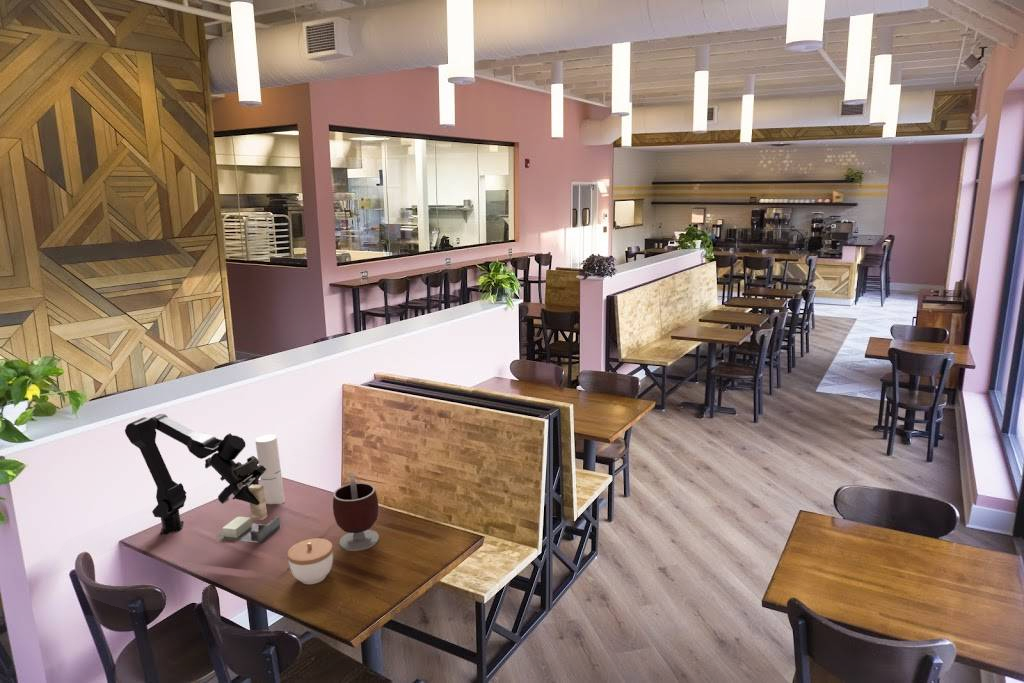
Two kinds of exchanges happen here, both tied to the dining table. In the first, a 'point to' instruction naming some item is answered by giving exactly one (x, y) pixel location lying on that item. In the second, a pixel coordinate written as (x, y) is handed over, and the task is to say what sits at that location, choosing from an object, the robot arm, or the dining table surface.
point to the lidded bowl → (311, 560)
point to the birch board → (259, 510)
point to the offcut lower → (238, 532)
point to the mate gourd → (356, 514)
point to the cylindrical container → (270, 469)
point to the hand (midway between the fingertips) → (261, 502)
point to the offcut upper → (236, 525)
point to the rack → (256, 532)
